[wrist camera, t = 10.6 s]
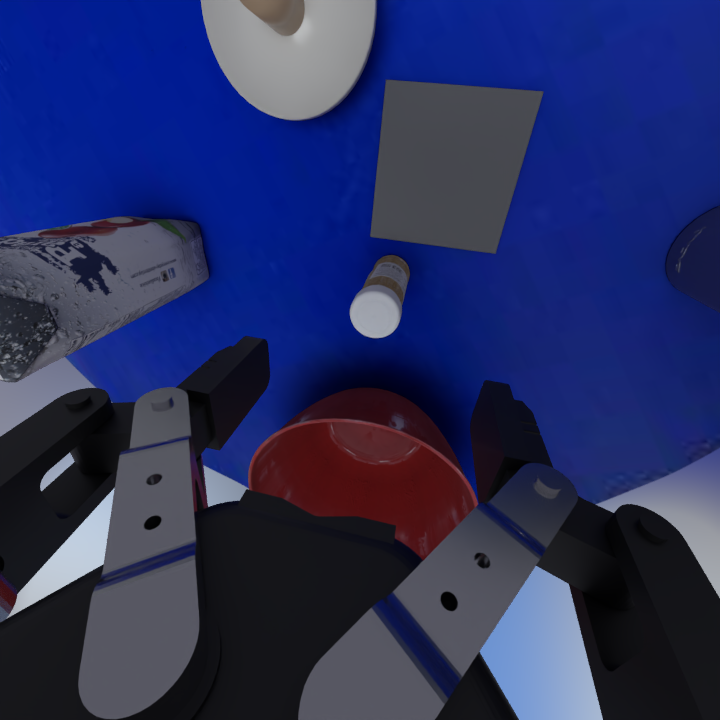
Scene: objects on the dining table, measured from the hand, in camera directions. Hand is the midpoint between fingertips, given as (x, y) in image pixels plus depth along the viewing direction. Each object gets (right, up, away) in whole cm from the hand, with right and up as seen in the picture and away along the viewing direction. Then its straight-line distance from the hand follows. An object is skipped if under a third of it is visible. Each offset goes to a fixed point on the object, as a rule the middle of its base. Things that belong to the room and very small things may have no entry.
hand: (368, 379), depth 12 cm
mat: (+8, +20, +22) cm, 31 cm away
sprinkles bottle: (+4, +11, +28) cm, 31 cm away
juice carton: (-25, +16, +33) cm, 44 cm away
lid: (-6, +28, +14) cm, 32 cm away
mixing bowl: (+2, -10, +42) cm, 43 cm away
